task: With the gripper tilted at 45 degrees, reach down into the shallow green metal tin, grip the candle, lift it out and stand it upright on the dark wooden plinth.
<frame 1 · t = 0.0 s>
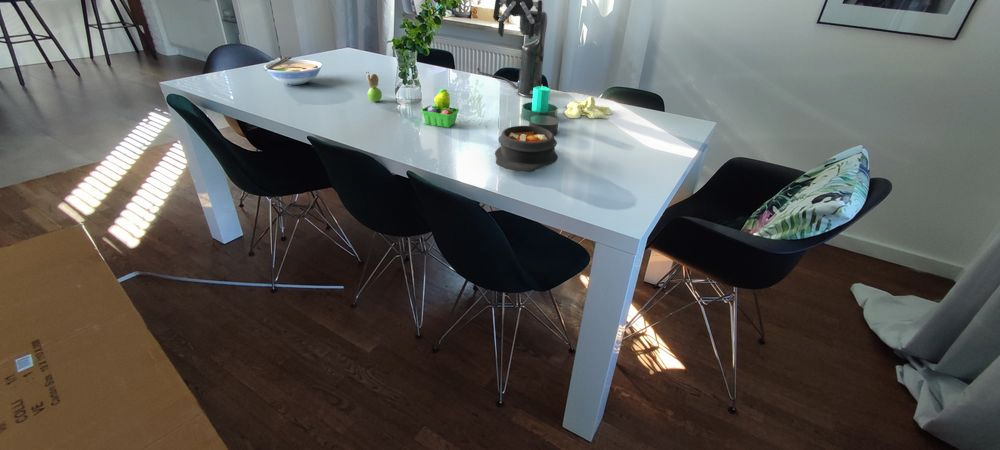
hand: (515, 37, 142), 31 cm above the table, tool tilted 20°, fingers open, 8 cm apart
tin: (539, 117, 179), on the table
casserole: (525, 161, 141), on the table
cloth: (586, 112, 187), on the table
candle: (539, 116, 179), resting on tin
stand: (542, 131, 165), on the table
ramen bowl: (296, 83, 205), on the table
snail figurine: (374, 102, 186), on the table
fruit basket: (441, 124, 167), on the table
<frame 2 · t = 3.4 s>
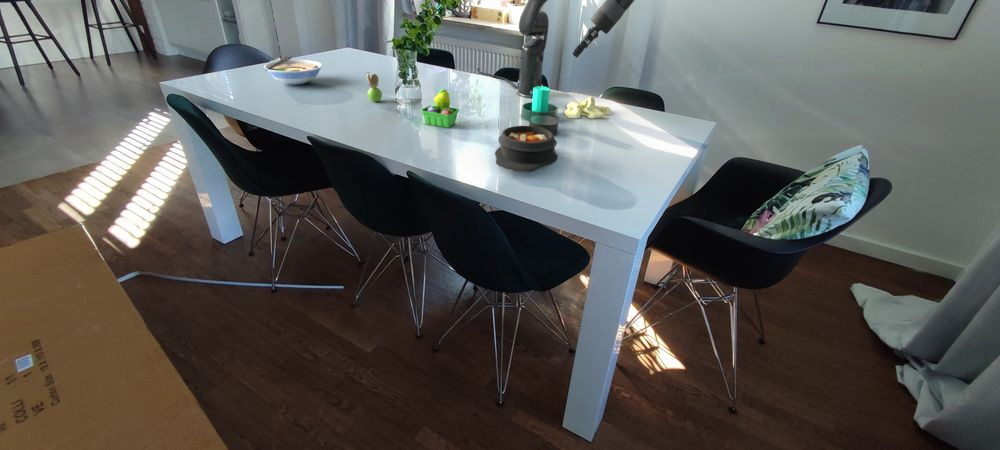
hand: (575, 54, 166), 23 cm above the table, tool tilted 35°, fingers open, 8 cm apart
nothing on the table moved.
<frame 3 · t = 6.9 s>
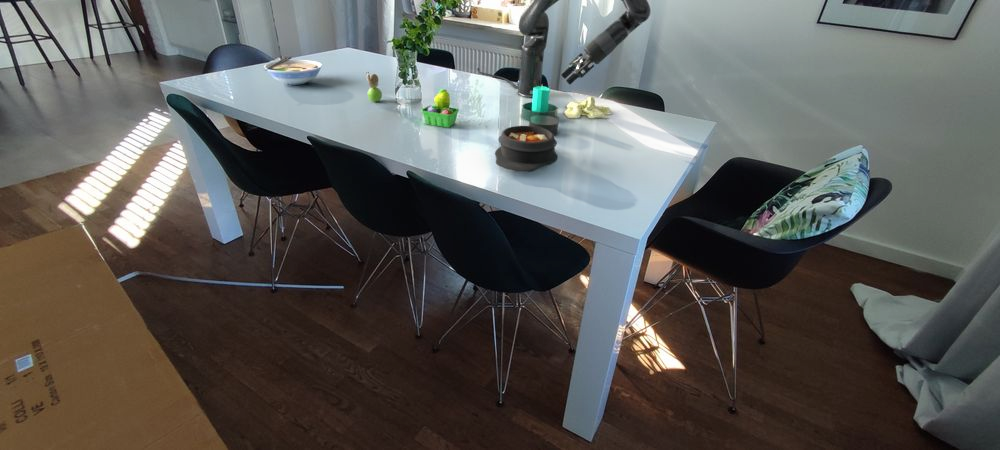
hand: (565, 79, 173), 14 cm above the table, tool tilted 45°, fingers open, 8 cm apart
nothing on the table moved.
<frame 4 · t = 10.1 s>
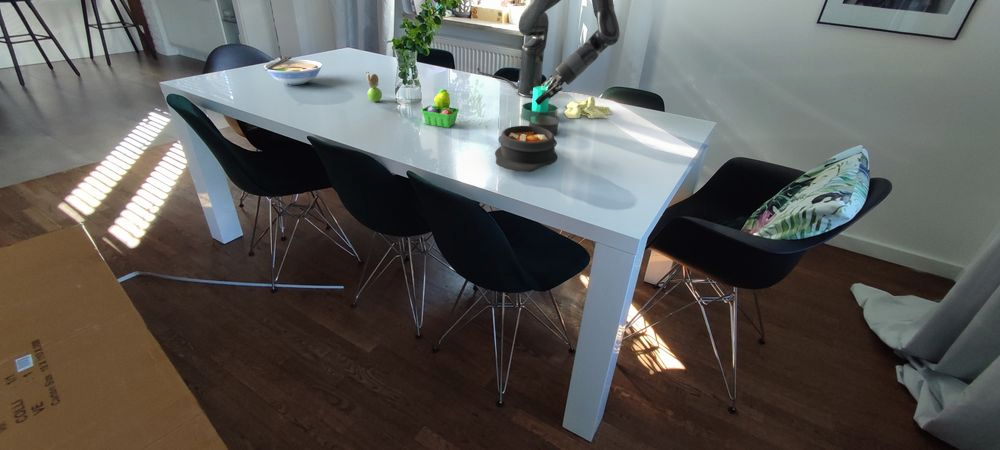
hand: (535, 100, 176), 6 cm above the table, tool tilted 45°, fingers closed on candle, 5 cm apart
candle: (539, 116, 179), resting on tin, touching gripper
everything else where it was.
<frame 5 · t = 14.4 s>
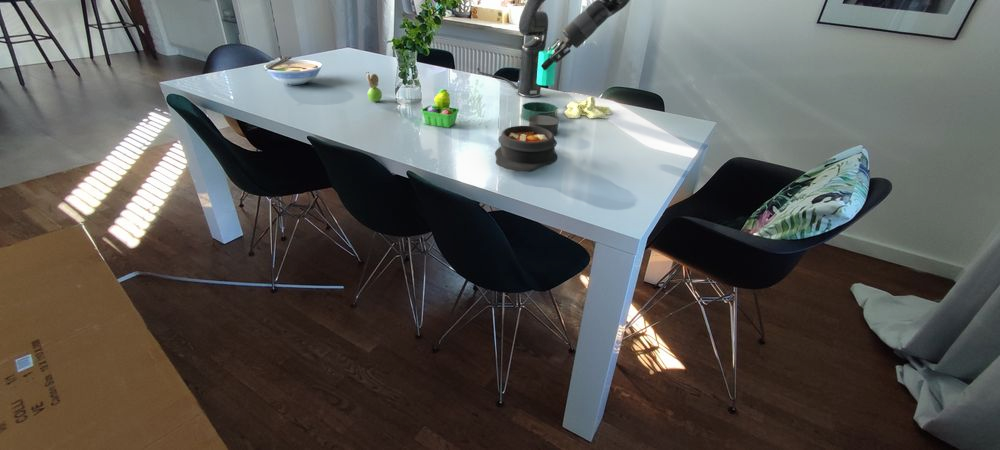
hand: (541, 66, 162), 20 cm above the table, tool tilted 45°, fingers closed on candle, 5 cm apart
candle: (545, 84, 165), point 14 cm above the table, touching gripper
everything else where it was.
when the fingers open (10 cm above the table, at t = 18.9 s): candle stays where it is, resting on stand.
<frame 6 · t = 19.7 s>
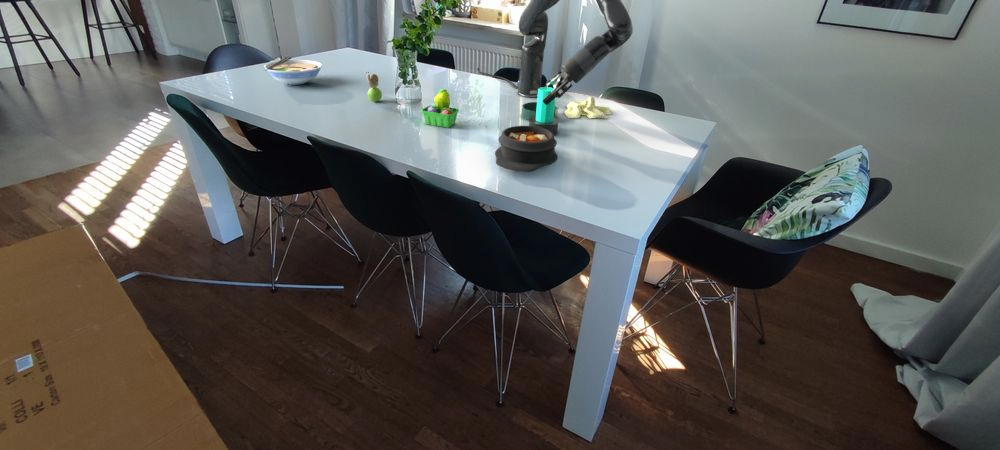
hand: (542, 99, 159), 11 cm above the table, tool tilted 45°, fingers open, 8 cm apart
candle: (544, 120, 163), point 4 cm above the table, touching stand
everything else where it was.
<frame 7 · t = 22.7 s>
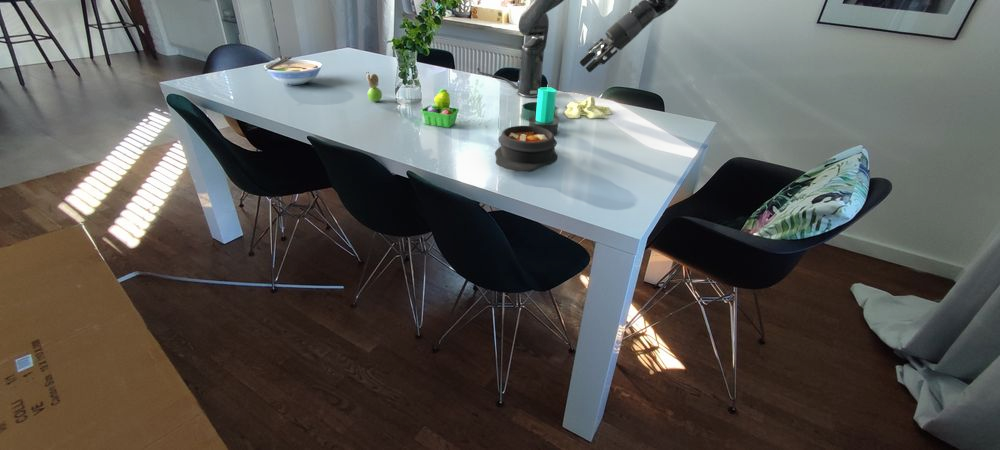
hand: (584, 67, 155), 22 cm above the table, tool tilted 45°, fingers open, 8 cm apart
nothing on the table moved.
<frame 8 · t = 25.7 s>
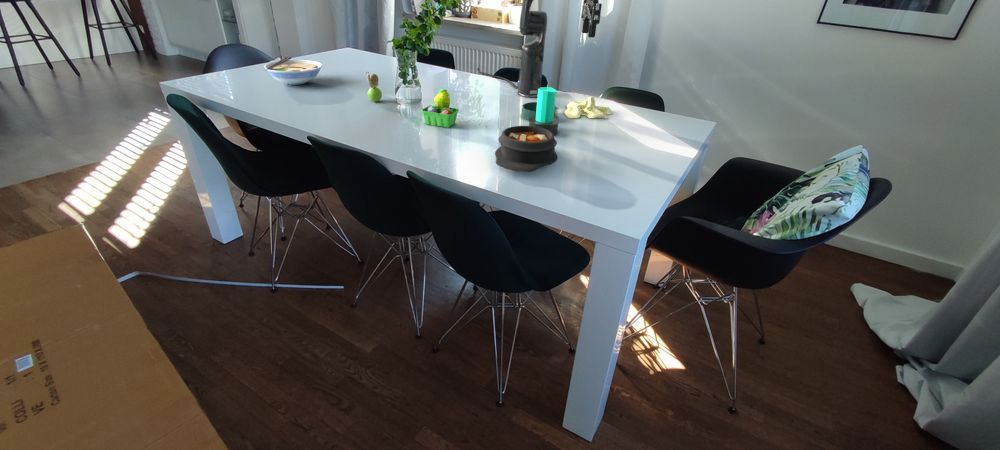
hand: (588, 35, 161), 30 cm above the table, tool pointing down, fingers open, 8 cm apart
nothing on the table moved.
at the end: candle 0.2 cm off-centre on the stand, point 3.8 cm above the stand's base; candle tilted 0°; the gripper is holding nothing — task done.
